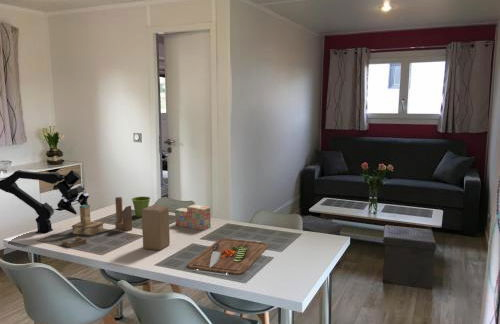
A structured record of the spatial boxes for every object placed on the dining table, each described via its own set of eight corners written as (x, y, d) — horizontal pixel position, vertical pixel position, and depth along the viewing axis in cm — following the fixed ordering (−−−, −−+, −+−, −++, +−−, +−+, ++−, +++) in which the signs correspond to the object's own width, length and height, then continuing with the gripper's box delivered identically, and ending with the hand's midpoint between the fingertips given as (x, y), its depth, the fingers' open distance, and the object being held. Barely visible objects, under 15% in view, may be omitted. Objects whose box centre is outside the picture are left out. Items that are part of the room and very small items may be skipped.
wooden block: (170, 244, 211) (169, 206, 208) (160, 251, 201) (158, 210, 199) (153, 242, 214) (151, 204, 211) (142, 249, 205) (140, 209, 202)
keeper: (61, 244, 212) (61, 240, 212) (77, 240, 219) (77, 236, 219) (70, 247, 207) (70, 243, 207) (86, 243, 214) (86, 239, 214)
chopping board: (240, 279, 170) (240, 271, 169) (181, 270, 179) (181, 264, 178) (271, 244, 212) (271, 238, 211) (222, 239, 221) (222, 233, 220)
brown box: (71, 234, 229) (70, 226, 228) (82, 228, 239) (81, 221, 238) (93, 235, 226) (93, 227, 226) (104, 230, 236) (103, 222, 236)
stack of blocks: (175, 225, 245) (174, 204, 244) (182, 222, 251) (181, 202, 249) (204, 230, 234) (203, 209, 233) (211, 227, 240) (210, 206, 238)
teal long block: (80, 225, 230) (79, 206, 228) (85, 223, 233) (84, 204, 231) (86, 226, 228) (84, 206, 227) (90, 224, 232) (89, 205, 230)
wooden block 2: (127, 231, 233) (125, 200, 231) (115, 228, 240) (113, 197, 237) (132, 229, 236) (131, 198, 234) (120, 226, 243) (119, 196, 240)
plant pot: (128, 217, 262) (128, 200, 260) (137, 213, 274) (136, 196, 272) (146, 218, 260) (146, 200, 258) (154, 213, 272) (153, 196, 270)
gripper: (60, 184, 221) (77, 206, 218) (86, 178, 238) (102, 199, 235) (49, 197, 225) (66, 219, 222) (76, 191, 242) (91, 211, 239)
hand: (82, 212), depth 230 cm, fingers open, 9 cm apart
